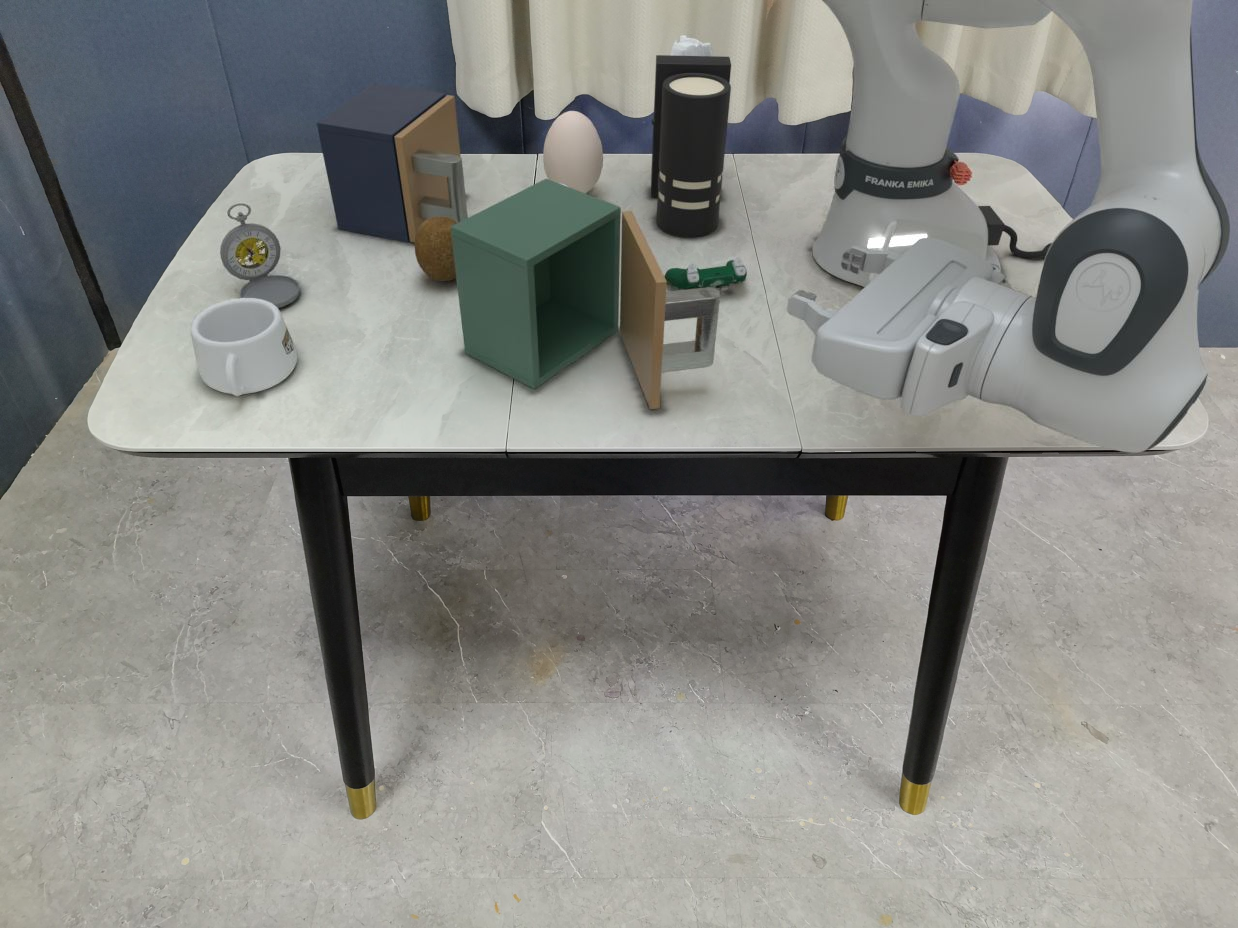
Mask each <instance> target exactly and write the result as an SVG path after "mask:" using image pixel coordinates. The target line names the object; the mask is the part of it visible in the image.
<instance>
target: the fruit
mask: <svg viewBox="0 0 1238 928" xmlns="http://www.w3.org/2000/svg"><path fill="white" fill-rule="evenodd" d="M455 224H457V223H456V222H455V221H454V220H453V219H451V218H448V217H441V216H440V217H433V218H429V219H427V220H425V221H424V222H423V223H422V224H421V226H420V227H419V229H418V230H417V233H416V235H415V242H413V243H414V253H415V254H414V255H415V258H416V261H417V264H418V266H419V267H420V269H421V270H422V272H423V273H424V274H425V275H426V276H427V277H428V278H429V279H432V280H435V281H438V282H449V281H452V280H455V279H456V270H455V261H454V253H453V244H452V235H451V226H453V225H455Z"/></svg>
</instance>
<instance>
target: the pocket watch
mask: <svg viewBox="0 0 1238 928" xmlns="http://www.w3.org/2000/svg"><path fill="white" fill-rule="evenodd" d="M239 206H243V207H246V208H247V213H246V214H244V213H243V212H242V211H239V212H237V215H236V217H234V216H233V215H231V210H233V208H235V207H239ZM226 213H227V214H226V215H227V216H228V218H230V219H232V220H234V221H236V222H239V223H240V224H239V225H237V226H235V227H233V228H232V229H230V230H229V231H228V232H227V233H226V234H225V236H224V238H223V239H222V242H221V244H220V251H219V253H220V260H221V262H222V263H221V264H222V265H223V267H224V268H225V269H226V270H227V272H228V273H229V274H230V275H231V276H233V277H235V278H237V279H240V280H243V281H244V280H245V281H248V282H247V283H245V284H244V285H243V286H242V287H241V288H240V290H239V292H238V293H239V295H238V296H239V297H238V298H256V299H262V300H265V301H268V302H271V303H272V304H274V305H275V306H276V307H277V308H278V309H279V308H283V307H286V306H287V305H289V304H292V303H293V302H294V301H295V300H296V299H298V297H299V296H300V293H301V286H300V283H299V281H298V280H297V279H295V278H293V277H291V276H287V275H282V274H274V275H269V274H270V273H271V272H273V271H274V270H275V268H276V267H277V266H278V263H279V262H280V258H281V251H282V250H281V249H282V247H281V245H280V241H279V238H278V237H277V236H276V234H275V233H274V232H273V231H272V230H271V229H270V228H268V227H266V226H265V225H262V224H259V223H254V222H251V223H250V222H249V223H246V220H247V219H248V217H249V216H250V214H251V213H252V208H251V206H250V205H248V204H246V203H235V204H233V205H231V206H230V207H228V210H227V211H226ZM263 250H264V252H263V253H261V251H263ZM246 258H247V259H246ZM247 262H249V264H247ZM251 263H252V264H251Z"/></svg>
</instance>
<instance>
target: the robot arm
mask: <svg viewBox="0 0 1238 928" xmlns="http://www.w3.org/2000/svg"><path fill="white" fill-rule="evenodd" d="M821 1H822V2H823V3H824V4H825V5H826V6H827V7H828V8H829V10H830V11H831V12H832V13H833V15H834V17H835V18H836V19H837V21H838V23H839V24H840V26H841V28H842V30H843V32H844V34H845V36H846V39H847V42H848V45H849V48H850V51H851V55H852V62H853V71H854V72H853V74H854V75H853V76H854V77H853V80H854V81H853V91H852V102H851V103H852V104H851V109H850V117H849V123H848V128H847V135H846V136H845V137H844V139H843V140H842V142H841V147H840V150H839V155H838V157H837V160H836V167H835V173H834V179H833V188H834V193H833V196H832V200H831V203H830V205H829V209H828V212H827V215H826V218H825V220H824V223H823V225H822V228H821V230H820V232H819V234H818V236H817V238H816V240H815V242H814V243H813V246H812V256H813V258H814V261H815V262H816V263H817V264H818V265H819V266H820V267H821V268H822V269H823V270H824V271H825V272H827V273H829V274H830V275H832V276H834V277H835V278H838V279H840V280H843V281H846V282H847V283H848V282H849V283H852V284H854V285H857V286H861V287H863V288H862V289H861V290H860V291H859V292H858V293H857V294H856V295H854V296H853V297H852V298H851V299H850V300H849V301H848V302H847V303H845V304H844V305H843V306H842V307H840V308H839V310H837V309H834V308H832V307H827V308H826V309H823V307H821V306H820V304H818V303H817V302H816V300H817V294H814V293H812V292H807V291H806V290H804V289H799V290H798V291H796V292H795V293H793V294H792V295H791V296H790V297H789V298H788V299H787V307H786V312H787V313H788V314H789V316H792V317H794V318H797V319H799V320H801V321H803V322H804V323H805V325H806V326H807V327H808V328H809V329H810V331H811V332H812V333H813V334H814V335H815V336H814V342H813V346H812V352H811V363H812V366H814V368H815V369H816V371H817V372H818V373H819V374H821V375H822V376H823V377H825V378H827V379H829V380H831V381H834V382H835V383H838V384H840V385H842V386H845V387H847V388H849V389H852V390H854V391H856V392H859V393H862V394H863V395H866V396H869V397H872V398H875V399H879V400H890V401H891V400H896V399H898V398H900V400H899V408H900V410H901V411H903V412H905V413H906V414H909V415H911V416H913V417H919V418H920V417H924V416H927V415H929V414H931V413H933V412H935V411H938V410H939V409H941V408H943V407H946V406H948V405H950V404H952V403H956V402H958V401H959V402H960V401H962V400H965V399H966V398H968V396H969V397H972V398H974V399H977V400H979V401H982V402H984V403H987V404H993V405H1002V406H1006V407H1009V408H1012V409H1014V410H1016V411H1019V412H1020V413H1022V414H1023V415H1024V416H1026V417H1027V418H1028V419H1030V420H1031V421H1032V422H1033V423H1035V424H1037V425H1039V426H1042V427H1045V428H1048V429H1050V430H1051V431H1055V432H1057V433H1060V434H1063V435H1065V436H1068V437H1070V438H1072V439H1076V440H1079V441H1082V442H1085V443H1088V444H1090V445H1094V446H1097V447H1101V448H1104V449H1109V450H1112V451H1118V452H1122V453H1123V452H1124V453H1143V452H1145V451H1148V450H1150V449H1153V448H1154V447H1156V446H1158V445H1159V444H1160V443H1162V442H1163V441H1164V440H1165V439H1167V437H1168V436H1169V435H1170V434H1171V433H1172V432H1173V431H1174V430H1175V429H1176V427H1178V425H1179V424H1180V423H1181V421H1182V420H1183V419H1184V418H1185V416H1186V415H1187V414H1188V411H1189V410H1190V408H1192V406H1193V405H1194V404H1195V403H1196V402H1197V400H1198V398H1200V395H1201V394H1202V392H1203V391H1204V388H1205V386H1206V383H1207V378H1208V370H1207V368H1206V366H1205V364H1204V362H1203V359H1202V354H1201V349H1200V343H1199V335H1198V334H1199V333H1198V303H1199V302H1198V301H1199V294H1200V293H1199V292H1200V289H1199V287H1200V285H1202V284H1203V283H1204V282H1205V281H1206V280H1207V279H1208V278H1210V277H1211V275H1212V274H1213V273H1214V272H1215V271H1216V270H1217V268H1218V267H1219V265H1220V264H1221V262H1222V260H1223V259H1224V256H1225V254H1226V251H1227V249H1228V245H1229V240H1230V236H1231V235H1230V234H1231V233H1230V232H1231V226H1230V225H1231V224H1230V216H1229V212H1228V209H1227V207H1226V204H1225V202H1224V200H1223V198H1222V196H1221V194H1220V192H1219V190H1218V189H1217V187H1216V186H1215V184H1214V182H1213V180H1212V179H1211V177H1210V175H1209V173H1208V171H1207V169H1206V167H1205V166H1204V163H1203V160H1202V158H1201V155H1200V150H1199V145H1198V138H1197V125H1196V124H1197V123H1196V105H1195V102H1196V101H1195V84H1194V66H1193V65H1194V64H1193V44H1192V13H1193V3H1194V0H821ZM1051 12H1052V13H1053V14H1054V15H1056V16H1057V17H1058V18H1059V19H1060V20H1061V21H1063V23H1064V24H1066V25H1067V27H1068V28H1069V29H1070V30H1071V31H1072V33H1073V34H1074V35H1075V36H1076V38H1077V39H1078V42H1079V43H1080V44H1081V46H1082V48H1083V50H1084V52H1085V54H1086V57H1087V60H1088V63H1089V66H1090V71H1091V75H1092V84H1093V92H1094V93H1093V94H1094V104H1095V113H1096V124H1097V135H1098V143H1099V155H1100V165H1101V168H1100V170H1101V171H1100V178H1099V183H1098V187H1097V189H1096V193H1095V194H1094V197H1093V200H1092V202H1091V204H1090V206H1089V207H1087V208H1086V209H1084V211H1082V212H1080V213H1079V214H1077V216H1075V217H1074V218H1073V219H1072V220H1070V222H1068V224H1066V225H1065V226H1064V227H1063V228H1062V229H1061V230H1060V231H1059V233H1058V234H1057V235H1056V236H1055V238H1054V239H1053V240H1052V242H1050V243H1047V244H1046V245H1045V246H1044V248H1043V249H1042V250H1037V251H1026V250H1021V249H1020V248H1018V247H1017V244H1018V234H1017V232H1016V231H1015V229H1013V228H1012V227H1011V226H1009V225H1007V224H1005V223H1004V221H1003V220H1002V219H1001V218H1000V216H999V215H998V214H997V213H996V212H995V210H994V209H993V208H992V207H991V205H977V204H976V202H975V201H974V200H973V199H972V198H971V197H970V196H969V195H968V194H967V193H966V192H965V191H964V190H963V189H962V188H961V187H960V186H964V185H966V184H968V182H970V181H971V178H972V177H973V171H971V169H970V168H969V167H968V165H967V163H966V162H964V161H959V160H960V159H959V157H958V156H957V154H956V153H955V152H953V150H951V149H949V148H948V147H947V145H948V142H949V138H950V134H951V131H952V127H953V123H954V119H955V115H956V111H957V108H958V104H959V101H960V97H961V96H960V95H961V92H960V91H961V87H960V82H959V81H960V80H959V79H958V75H957V74H956V72H955V70H954V69H953V67H952V66H951V65H950V64H949V63H948V62H947V61H946V60H945V59H944V58H943V57H941V56H940V55H939V54H937V53H936V52H934V51H933V50H932V49H930V48H929V47H927V45H925V43H924V42H923V41H922V40H921V38H920V36H919V34H918V31H917V29H916V28H917V27H916V22H922V21H924V22H932V23H933V22H934V23H941V24H948V25H955V26H956V25H957V26H963V27H969V28H970V27H971V28H978V29H1001V28H1003V29H1004V28H1016V27H1026V26H1028V27H1029V26H1035V25H1036V24H1038V23H1040V22H1041V21H1042V20H1044V18H1046V17H1047V16H1049V14H1051ZM1003 233H1006V234H1007V235H1008V236H1009V237H1010V239H1009V245H1008V246H1009V250H1010V252H1011V253H1012V254H1013V255H1014V256H1016V257H1019V258H1022V259H1038V258H1039V259H1040V258H1044V260H1043V265H1042V269H1041V274H1040V278H1039V282H1038V287H1037V291H1036V292H1037V293H1036V295H1035V296H1032V295H1030V294H1027V293H1024V292H1022V291H1020V290H1019V291H1018V290H1016V289H1013V288H1012V285H1011V284H1010V283H1009V280H1008V279H1007V278H1006V275H1005V274H1004V273H1002V269H1001V268H1002V267H1001V263H1000V259H999V258H998V256H997V254H996V252H995V250H994V249H993V247H992V246H999V244H1000V241H1001V238H1002V235H1003Z"/></svg>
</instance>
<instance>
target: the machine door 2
mask: <svg viewBox="0 0 1238 928" xmlns="http://www.w3.org/2000/svg"><path fill="white" fill-rule="evenodd" d="M664 276H665V275H664V273H663V271H662V269H661V267H660V265H659V263H658V261H657V259H656V257H655V255H654V253H653V251H652V249H651V246H650V245H649V243H648V241H647V239H646V236H645V234H644V232H643V231H642V229H641V227H640V224H639V223H638V220H637V219H636V217H635V214H634V213H633V211H632V210H622V212H621V243H620V293H619V334H620V337H621V339H622V342H623V344H624V347H625V349H626V350H625V351H626V352H627V355H628V357H629V359H630V362H631V365H632V368H633V370H634V373H635V375H636V377H637V380H638V383H639V385H640V388H641V390H642V393H643V396H644V398H645V400H646V403H647V405H648V408H649V410H656V409H658V410H659V409H660V408H661V407H660V404H661V390H662V389H661V387H662V373H670V372H679V371H687V370H695V369H703V368H704V369H705V368H709V367H711V366H712V365H713V364H714V359H715V350H716V341H717V340H716V339H717V331H718V321H719V313H720V312H719V310H720V303H721V302H720V301H721V291H719V289H718V288H716V287H706V288H697V289H687V290H681V289H678V290H671V291H667V287H668V286H667V284H668V282H667V281H666V279H665V277H664ZM686 319H688V320H689V319H696V325H695V337H694V340H687V341H680V342H679V341H678V342H671V343H664V337H665V322H670V321H678V320H686Z"/></svg>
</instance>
